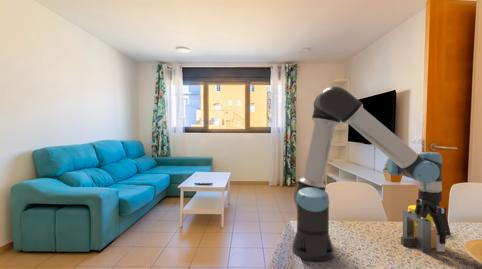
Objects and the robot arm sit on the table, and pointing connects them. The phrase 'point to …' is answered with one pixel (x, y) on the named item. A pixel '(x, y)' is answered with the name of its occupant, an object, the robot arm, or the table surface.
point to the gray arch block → (423, 230)
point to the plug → (414, 240)
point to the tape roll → (412, 208)
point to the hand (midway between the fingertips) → (430, 244)
